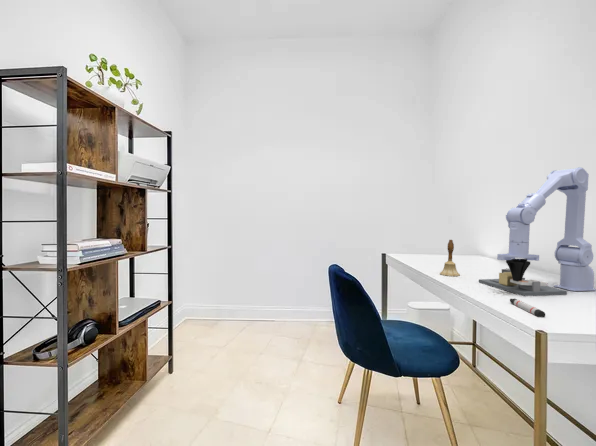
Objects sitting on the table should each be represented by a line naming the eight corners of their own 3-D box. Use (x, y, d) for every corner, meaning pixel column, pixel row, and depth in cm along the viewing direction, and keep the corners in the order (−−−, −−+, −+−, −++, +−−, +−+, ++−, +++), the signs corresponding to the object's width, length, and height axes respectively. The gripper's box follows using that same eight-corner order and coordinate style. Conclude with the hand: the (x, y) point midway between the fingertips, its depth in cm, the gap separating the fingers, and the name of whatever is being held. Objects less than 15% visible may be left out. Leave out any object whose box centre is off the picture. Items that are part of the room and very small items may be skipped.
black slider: (510, 278, 130) (510, 267, 130) (518, 280, 126) (518, 269, 126) (501, 279, 130) (501, 267, 129) (509, 281, 126) (509, 269, 126)
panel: (515, 281, 133) (515, 270, 133) (566, 294, 111) (567, 281, 111) (478, 282, 130) (478, 271, 130) (523, 296, 109) (524, 282, 109)
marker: (545, 318, 87) (545, 311, 87) (537, 318, 87) (537, 310, 87) (513, 302, 102) (513, 296, 102) (506, 302, 102) (506, 296, 102)
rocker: (534, 283, 117) (535, 279, 117) (547, 286, 111) (548, 282, 111) (509, 282, 115) (510, 278, 115) (521, 285, 110) (522, 281, 110)
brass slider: (508, 283, 122) (508, 270, 122) (517, 285, 118) (517, 272, 118) (498, 283, 122) (499, 271, 122) (507, 285, 118) (507, 273, 118)
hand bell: (448, 272, 153) (449, 238, 152) (464, 275, 145) (464, 240, 145) (435, 273, 149) (436, 239, 149) (451, 277, 142) (451, 240, 141)
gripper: (527, 241, 117) (526, 278, 118) (491, 240, 115) (489, 278, 116) (545, 243, 110) (543, 282, 111) (506, 242, 108) (505, 282, 109)
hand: (517, 281), depth 113 cm, fingers closed, pressing on rocker
